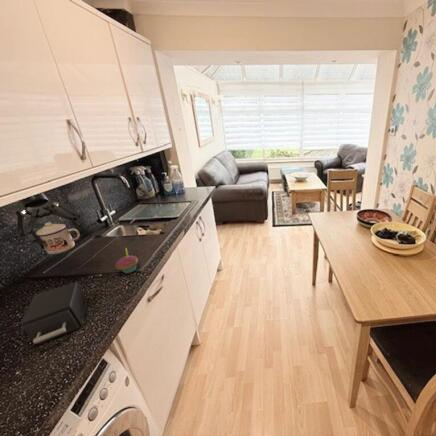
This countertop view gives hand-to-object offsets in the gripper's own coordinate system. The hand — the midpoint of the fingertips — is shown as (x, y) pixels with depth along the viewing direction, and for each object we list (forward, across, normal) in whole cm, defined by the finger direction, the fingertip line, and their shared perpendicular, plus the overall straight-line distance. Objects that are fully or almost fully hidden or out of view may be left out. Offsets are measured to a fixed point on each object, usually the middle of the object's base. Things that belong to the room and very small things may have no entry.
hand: (63, 239), depth 94 cm
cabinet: (+29, -13, 0) cm, 32 cm away
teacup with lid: (+1, 0, +5) cm, 5 cm away
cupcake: (+22, +14, +7) cm, 27 cm away
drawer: (+31, -14, -3) cm, 34 cm away
